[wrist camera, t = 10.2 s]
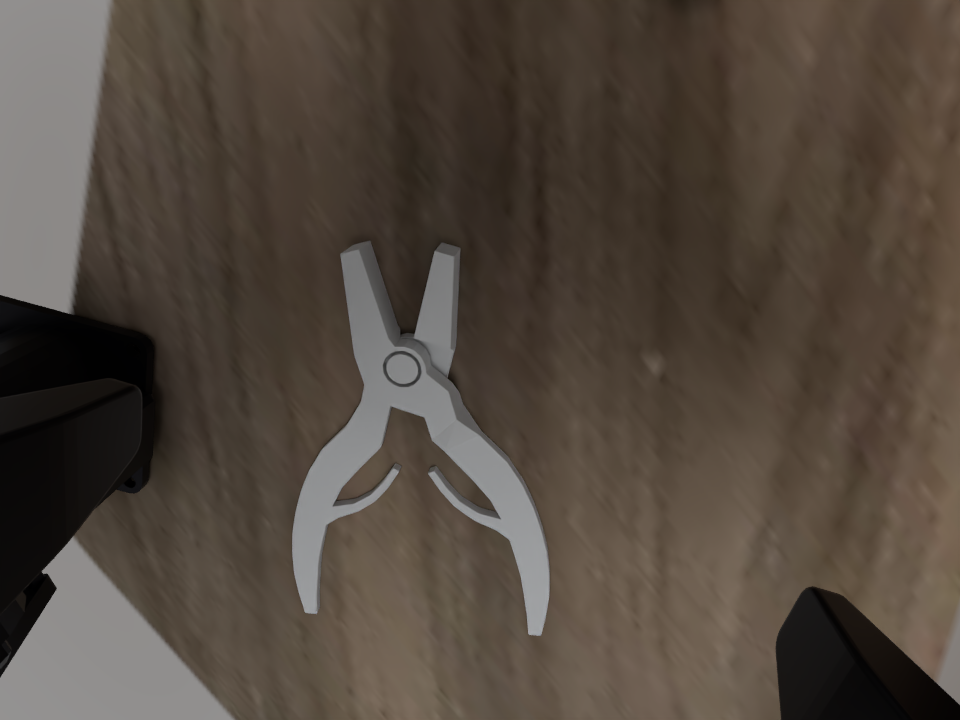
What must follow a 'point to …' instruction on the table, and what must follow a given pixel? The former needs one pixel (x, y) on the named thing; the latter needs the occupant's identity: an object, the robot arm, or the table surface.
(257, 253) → the table surface
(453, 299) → the pliers
